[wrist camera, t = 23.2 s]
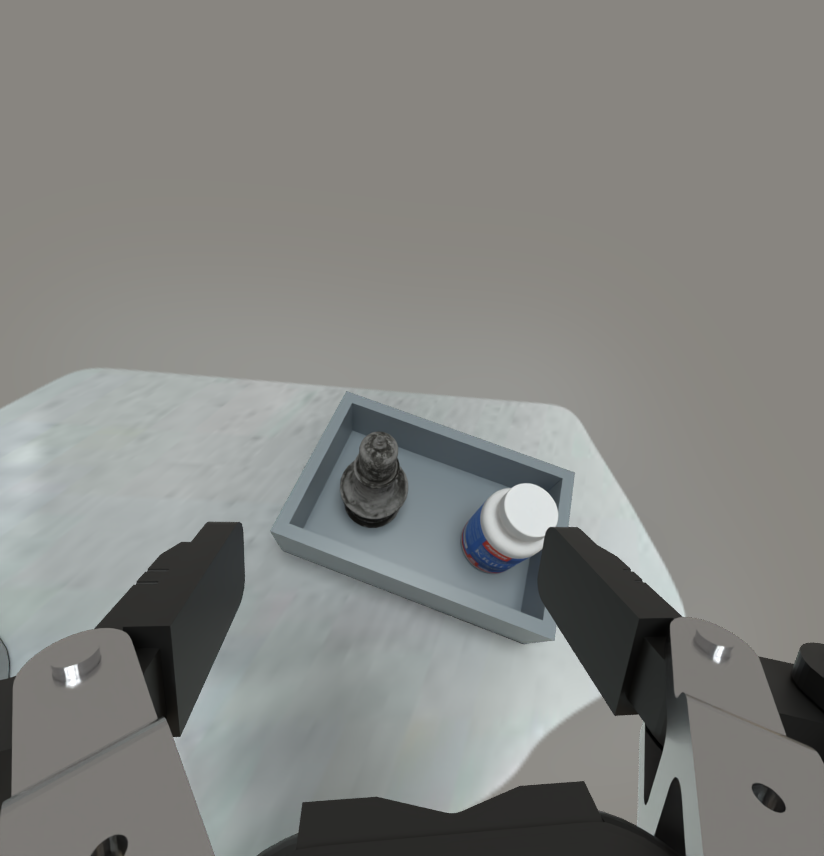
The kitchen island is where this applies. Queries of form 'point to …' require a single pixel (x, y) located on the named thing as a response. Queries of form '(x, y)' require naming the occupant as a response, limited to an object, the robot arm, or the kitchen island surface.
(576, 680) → the kitchen island surface
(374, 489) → the grey stone chess piece
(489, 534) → the pill bottle
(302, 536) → the tote
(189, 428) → the kitchen island surface
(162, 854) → the robot arm
